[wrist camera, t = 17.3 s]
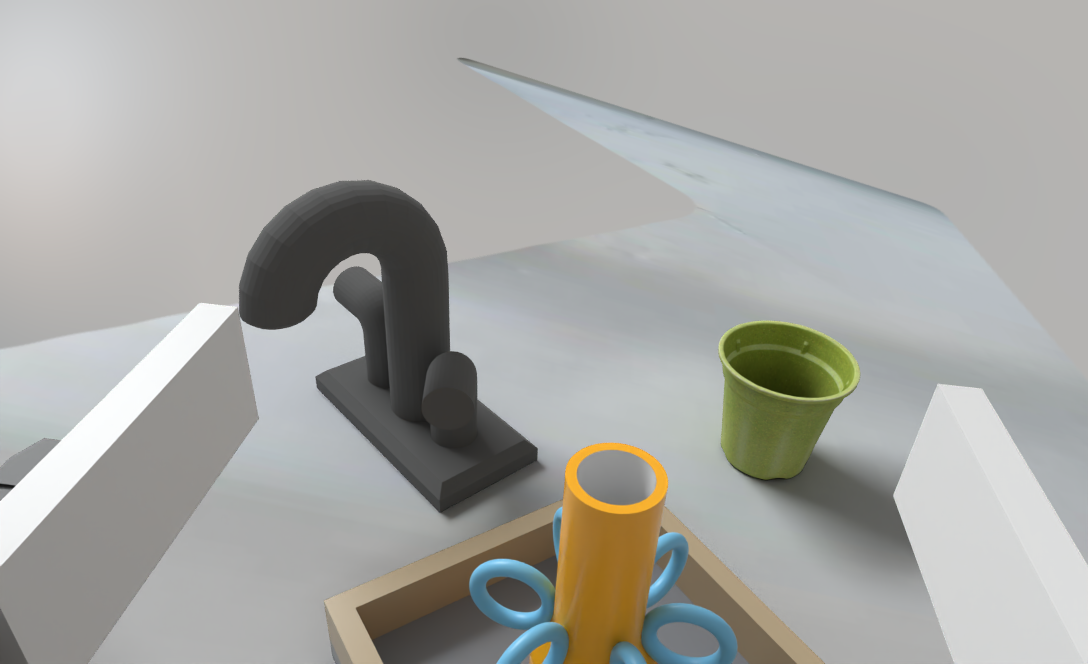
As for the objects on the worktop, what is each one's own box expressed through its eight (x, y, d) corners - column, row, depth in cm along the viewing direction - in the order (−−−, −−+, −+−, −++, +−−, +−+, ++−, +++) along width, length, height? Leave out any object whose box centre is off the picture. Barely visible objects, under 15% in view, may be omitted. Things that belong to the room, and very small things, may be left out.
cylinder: (720, 646, 41) (779, 426, 33) (701, 852, 33) (774, 624, 25) (502, 589, 44) (508, 372, 36) (431, 768, 35) (418, 535, 27)
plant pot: (846, 447, 58) (878, 351, 53) (802, 520, 51) (834, 418, 47) (730, 399, 62) (751, 307, 58) (676, 460, 56) (695, 361, 51)
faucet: (220, 420, 57) (162, 160, 47) (403, 349, 66) (389, 118, 56) (339, 573, 46) (298, 277, 35) (540, 463, 55) (556, 200, 44)
